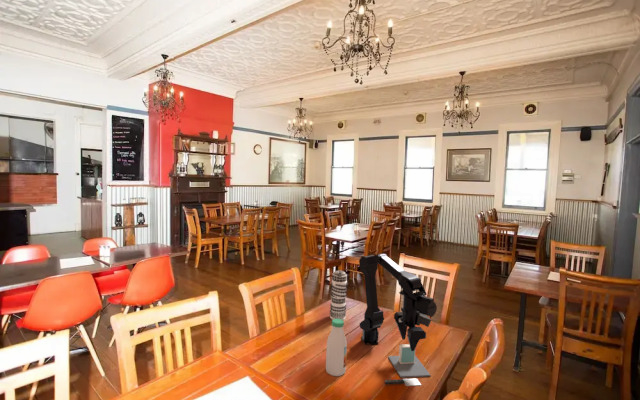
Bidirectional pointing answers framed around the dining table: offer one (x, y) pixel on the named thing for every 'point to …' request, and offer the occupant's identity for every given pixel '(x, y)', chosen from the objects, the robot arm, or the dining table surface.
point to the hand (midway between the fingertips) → (407, 344)
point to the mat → (409, 368)
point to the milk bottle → (336, 349)
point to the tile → (406, 354)
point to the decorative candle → (338, 295)
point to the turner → (404, 382)
